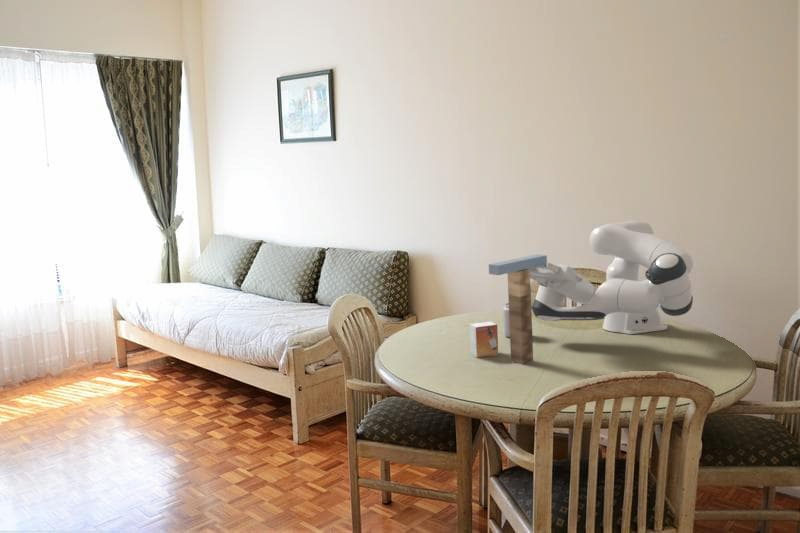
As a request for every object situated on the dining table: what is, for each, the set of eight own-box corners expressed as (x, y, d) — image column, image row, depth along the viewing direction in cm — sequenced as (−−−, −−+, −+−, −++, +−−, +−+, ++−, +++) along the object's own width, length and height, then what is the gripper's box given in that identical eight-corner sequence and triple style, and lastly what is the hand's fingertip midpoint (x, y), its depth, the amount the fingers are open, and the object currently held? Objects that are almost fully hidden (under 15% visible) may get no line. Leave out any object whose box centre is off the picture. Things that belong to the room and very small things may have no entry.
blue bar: (537, 263, 237) (537, 254, 237) (546, 264, 234) (546, 255, 234) (489, 273, 224) (488, 264, 224) (498, 275, 221) (497, 265, 221)
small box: (476, 358, 241) (475, 327, 239) (470, 353, 246) (468, 323, 244) (498, 354, 243) (497, 324, 241) (492, 350, 248) (491, 320, 246)
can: (524, 332, 268) (522, 301, 266) (525, 338, 260) (524, 305, 258) (503, 333, 268) (502, 302, 266) (504, 339, 261) (503, 306, 259)
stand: (521, 357, 238) (518, 267, 233) (533, 360, 234) (530, 269, 229) (511, 361, 235) (507, 270, 230) (522, 364, 231) (518, 271, 226)
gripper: (582, 290, 233) (557, 275, 225) (534, 284, 249) (509, 269, 241) (588, 272, 234) (563, 256, 226) (540, 267, 250) (515, 252, 242)
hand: (535, 263), depth 234 cm, fingers open, 8 cm apart
